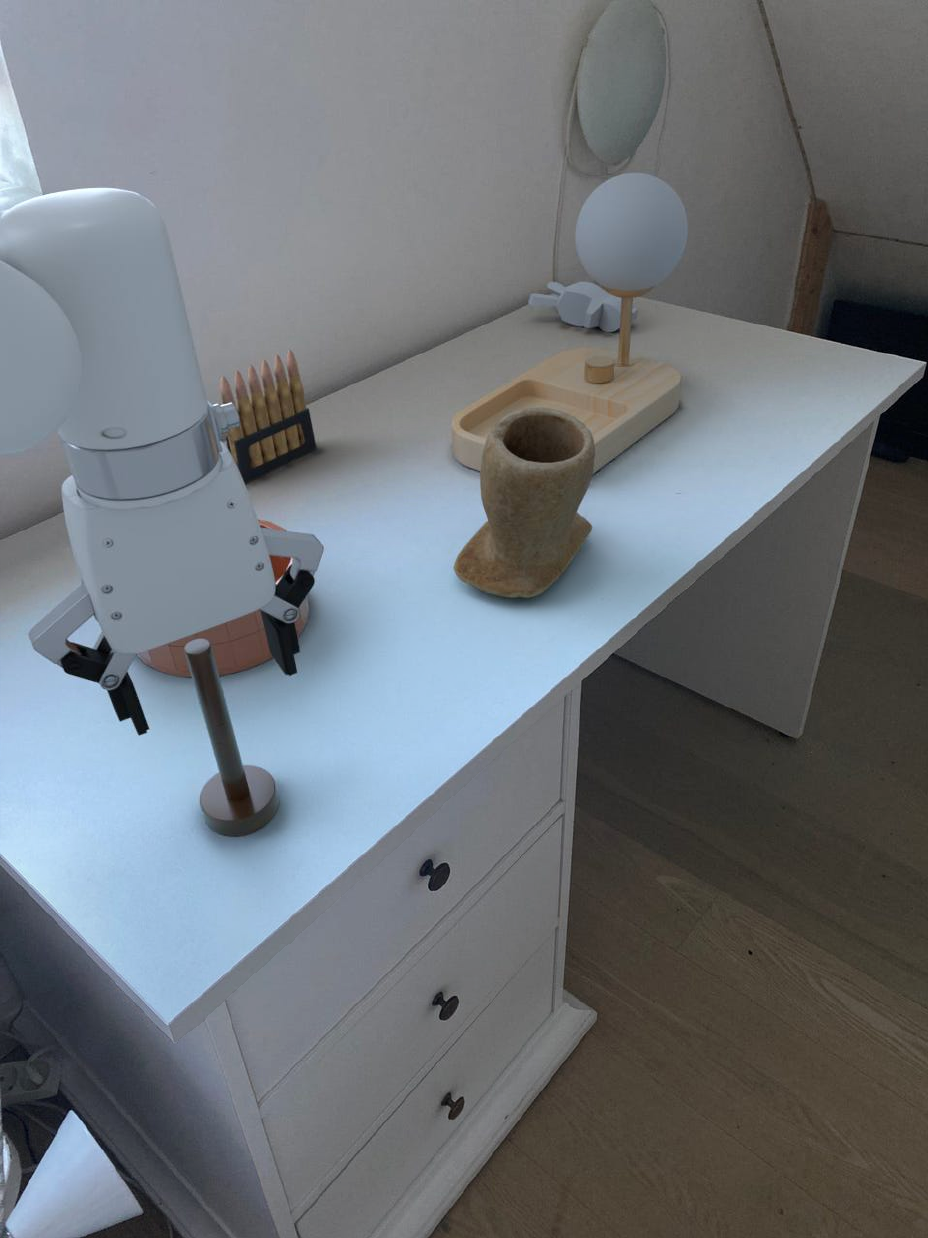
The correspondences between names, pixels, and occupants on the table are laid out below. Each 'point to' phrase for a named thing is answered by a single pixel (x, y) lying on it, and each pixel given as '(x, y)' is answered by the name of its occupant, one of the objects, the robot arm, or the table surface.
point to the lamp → (610, 380)
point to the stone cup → (529, 503)
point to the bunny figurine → (583, 305)
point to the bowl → (228, 636)
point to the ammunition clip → (269, 419)
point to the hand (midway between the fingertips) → (213, 691)
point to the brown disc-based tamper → (228, 758)
